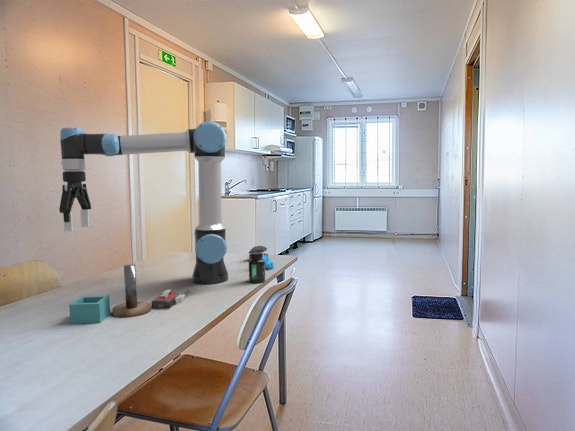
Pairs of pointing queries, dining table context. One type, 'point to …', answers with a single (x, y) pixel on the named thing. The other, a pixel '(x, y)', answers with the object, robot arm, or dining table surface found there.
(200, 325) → the dining table surface
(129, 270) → the post
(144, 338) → the dining table surface
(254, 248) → the dark mushroom
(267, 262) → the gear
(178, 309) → the dining table surface
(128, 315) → the post base
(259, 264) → the supplement bottle
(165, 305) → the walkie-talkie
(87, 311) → the collar
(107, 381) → the dining table surface
